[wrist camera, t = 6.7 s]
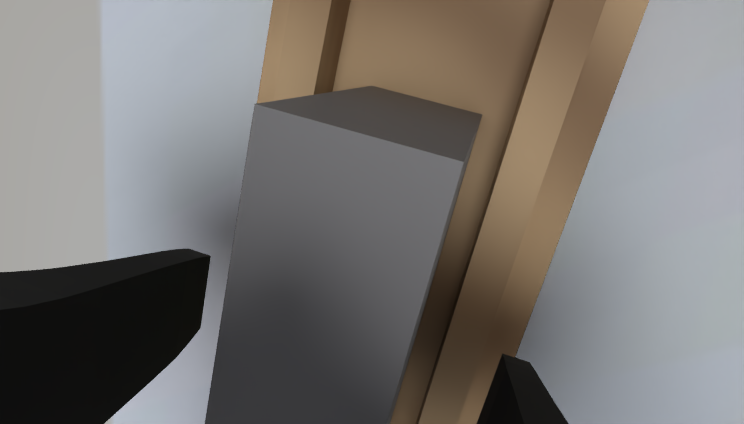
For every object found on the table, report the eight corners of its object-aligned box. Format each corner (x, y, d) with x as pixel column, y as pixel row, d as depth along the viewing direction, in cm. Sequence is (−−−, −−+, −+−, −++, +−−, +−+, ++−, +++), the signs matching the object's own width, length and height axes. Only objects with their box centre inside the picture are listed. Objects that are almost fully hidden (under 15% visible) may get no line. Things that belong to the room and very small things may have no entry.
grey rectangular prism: (482, 114, 13) (463, 162, 7) (390, 422, 16) (316, 657, 10) (361, 82, 14) (235, 98, 7) (294, 387, 17) (165, 588, 10)
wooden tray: (436, 551, 19) (426, 620, 16) (211, 461, 20) (173, 513, 18) (657, -48, 12) (693, -75, 10) (308, -118, 14) (268, -156, 11)
